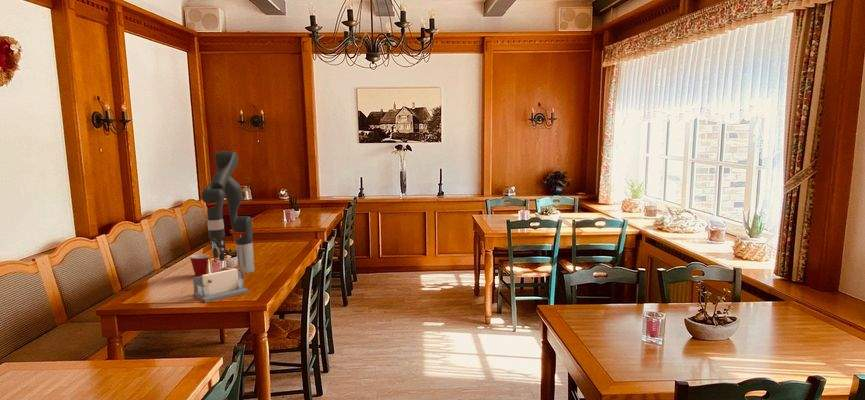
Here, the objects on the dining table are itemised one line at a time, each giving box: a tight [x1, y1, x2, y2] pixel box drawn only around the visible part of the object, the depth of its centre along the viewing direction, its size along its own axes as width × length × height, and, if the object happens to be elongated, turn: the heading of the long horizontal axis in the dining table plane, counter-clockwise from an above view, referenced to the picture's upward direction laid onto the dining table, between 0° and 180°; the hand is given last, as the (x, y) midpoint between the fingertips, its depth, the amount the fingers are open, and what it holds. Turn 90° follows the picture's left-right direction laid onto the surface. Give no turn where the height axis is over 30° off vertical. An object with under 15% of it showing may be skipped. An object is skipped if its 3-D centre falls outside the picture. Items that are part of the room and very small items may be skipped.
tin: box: [218, 266, 246, 280], centre depth 289 cm, size 15×3×8 cm, turn 84°
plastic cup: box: [188, 254, 211, 277], centre depth 304 cm, size 11×11×12 cm
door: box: [202, 268, 238, 295], centre depth 268 cm, size 4×17×10 cm, turn 132°
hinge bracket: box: [192, 276, 250, 303], centre depth 268 cm, size 16×22×10 cm
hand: (218, 259), depth 266 cm, fingers open, 8 cm apart
